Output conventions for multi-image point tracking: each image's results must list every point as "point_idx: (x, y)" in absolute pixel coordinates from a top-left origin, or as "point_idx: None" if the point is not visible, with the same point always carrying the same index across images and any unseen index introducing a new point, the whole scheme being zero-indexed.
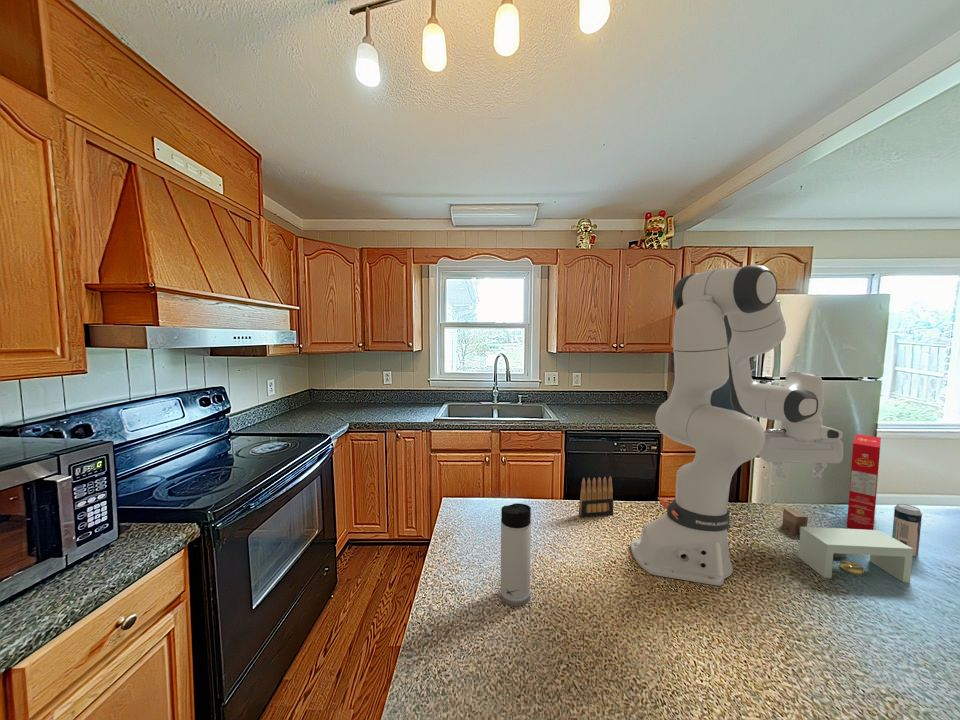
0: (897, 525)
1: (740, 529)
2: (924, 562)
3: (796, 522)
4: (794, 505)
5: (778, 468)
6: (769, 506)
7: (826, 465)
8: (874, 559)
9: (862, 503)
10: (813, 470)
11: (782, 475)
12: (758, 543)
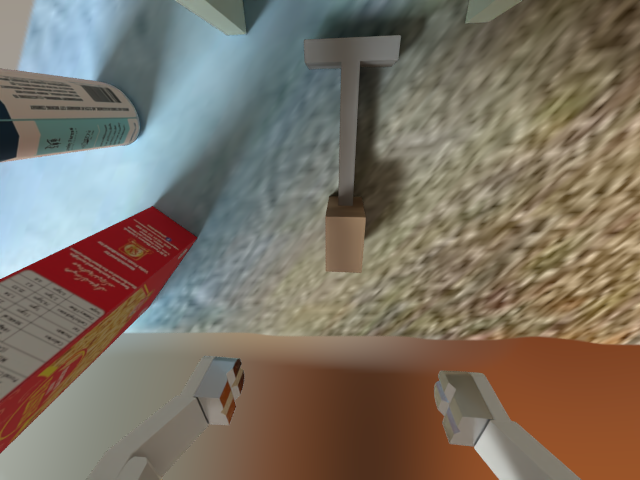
0: (49, 112)
1: (519, 208)
2: (88, 54)
3: (361, 209)
4: (256, 329)
5: (557, 459)
6: (320, 325)
7: (96, 470)
8: (238, 6)
9: (105, 265)
10: (219, 420)
11: (474, 383)
12: (548, 118)
